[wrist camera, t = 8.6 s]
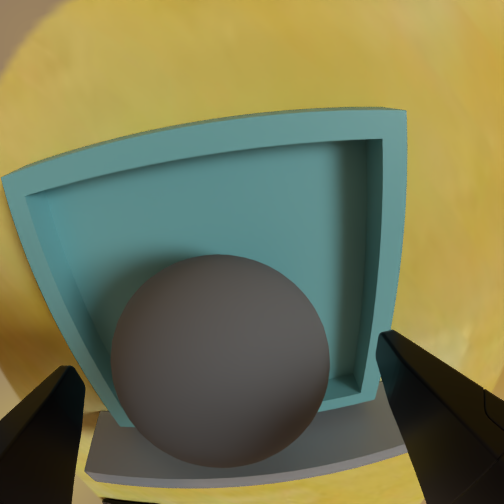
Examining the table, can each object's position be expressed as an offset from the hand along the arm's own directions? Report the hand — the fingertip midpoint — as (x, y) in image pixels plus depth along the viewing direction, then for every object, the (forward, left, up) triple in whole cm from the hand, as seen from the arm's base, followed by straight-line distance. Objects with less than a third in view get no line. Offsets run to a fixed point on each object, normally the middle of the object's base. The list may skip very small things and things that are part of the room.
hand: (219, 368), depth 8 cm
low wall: (+1, -7, -4) cm, 8 cm away
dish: (0, 0, -4) cm, 4 cm away
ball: (0, 0, 0) cm, 0 cm away
